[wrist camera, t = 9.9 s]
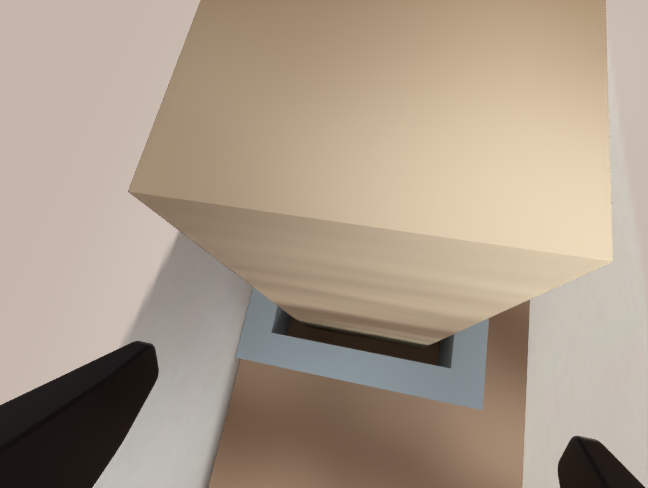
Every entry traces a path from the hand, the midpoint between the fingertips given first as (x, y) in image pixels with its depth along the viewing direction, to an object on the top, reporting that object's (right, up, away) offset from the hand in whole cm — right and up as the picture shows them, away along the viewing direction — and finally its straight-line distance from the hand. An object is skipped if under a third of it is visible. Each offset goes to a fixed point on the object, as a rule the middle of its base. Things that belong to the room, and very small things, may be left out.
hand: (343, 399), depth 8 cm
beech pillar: (+1, +2, +7) cm, 8 cm away
